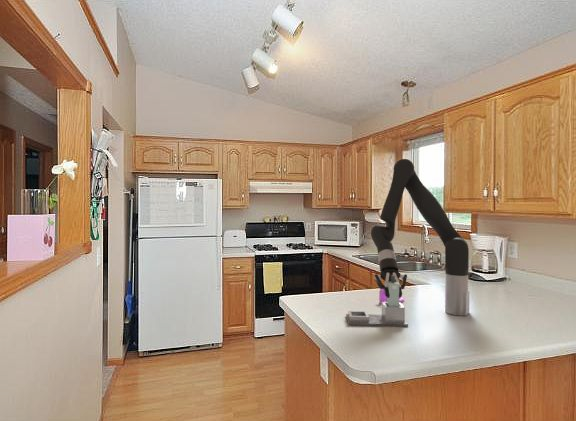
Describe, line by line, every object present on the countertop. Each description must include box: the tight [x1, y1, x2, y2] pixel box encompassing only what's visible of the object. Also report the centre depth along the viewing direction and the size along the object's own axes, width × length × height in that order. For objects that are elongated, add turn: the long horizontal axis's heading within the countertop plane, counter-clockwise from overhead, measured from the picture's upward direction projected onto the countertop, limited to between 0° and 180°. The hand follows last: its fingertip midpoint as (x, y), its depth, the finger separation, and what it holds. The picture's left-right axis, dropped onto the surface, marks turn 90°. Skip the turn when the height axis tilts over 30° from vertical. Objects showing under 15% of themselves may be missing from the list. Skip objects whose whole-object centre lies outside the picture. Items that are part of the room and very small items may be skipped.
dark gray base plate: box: [345, 302, 409, 328], centre depth 149 cm, size 23×12×7 cm, turn 86°
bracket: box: [378, 288, 405, 304], centre depth 178 cm, size 13×6×7 cm, turn 121°
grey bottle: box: [387, 275, 400, 307], centre depth 148 cm, size 4×5×13 cm
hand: (394, 296), depth 146 cm, fingers closed on grey bottle, 4 cm apart
